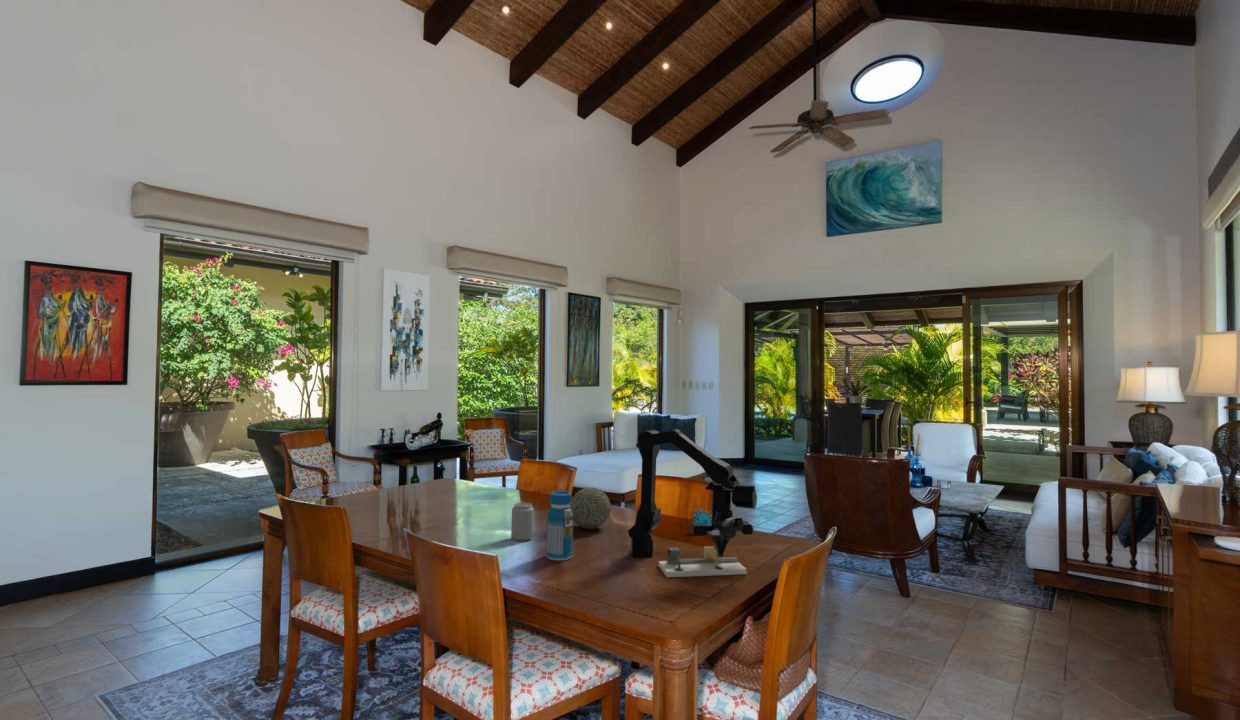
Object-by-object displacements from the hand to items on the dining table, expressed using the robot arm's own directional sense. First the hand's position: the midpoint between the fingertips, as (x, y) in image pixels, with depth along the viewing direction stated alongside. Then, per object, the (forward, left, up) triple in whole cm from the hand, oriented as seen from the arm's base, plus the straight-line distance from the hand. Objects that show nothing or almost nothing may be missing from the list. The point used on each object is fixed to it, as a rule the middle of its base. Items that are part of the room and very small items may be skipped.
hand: (720, 556), depth 192 cm
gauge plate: (-7, -3, -3) cm, 8 cm away
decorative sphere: (-34, +48, -3) cm, 59 cm away
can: (-59, +36, -3) cm, 69 cm away
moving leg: (-3, -2, -1) cm, 4 cm away
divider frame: (-6, -2, -2) cm, 6 cm away
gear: (+8, +40, -3) cm, 41 cm away
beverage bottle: (-48, +14, -3) cm, 50 cm away
